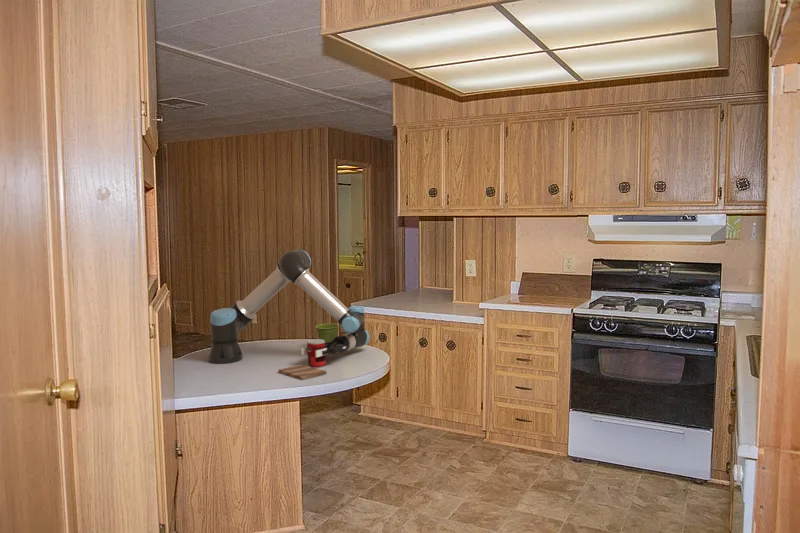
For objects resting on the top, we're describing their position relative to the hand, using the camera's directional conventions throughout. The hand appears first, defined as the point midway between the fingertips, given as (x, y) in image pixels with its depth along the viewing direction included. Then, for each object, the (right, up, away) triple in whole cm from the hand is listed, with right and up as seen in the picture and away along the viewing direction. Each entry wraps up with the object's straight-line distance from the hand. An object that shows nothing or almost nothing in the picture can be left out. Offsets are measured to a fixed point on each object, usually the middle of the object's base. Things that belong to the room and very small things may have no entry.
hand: (308, 353), depth 264 cm
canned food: (+3, -6, +4) cm, 8 cm away
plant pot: (+4, -3, +38) cm, 39 cm away
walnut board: (-2, -7, -8) cm, 11 cm away
